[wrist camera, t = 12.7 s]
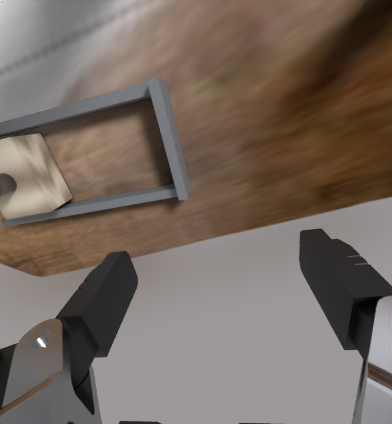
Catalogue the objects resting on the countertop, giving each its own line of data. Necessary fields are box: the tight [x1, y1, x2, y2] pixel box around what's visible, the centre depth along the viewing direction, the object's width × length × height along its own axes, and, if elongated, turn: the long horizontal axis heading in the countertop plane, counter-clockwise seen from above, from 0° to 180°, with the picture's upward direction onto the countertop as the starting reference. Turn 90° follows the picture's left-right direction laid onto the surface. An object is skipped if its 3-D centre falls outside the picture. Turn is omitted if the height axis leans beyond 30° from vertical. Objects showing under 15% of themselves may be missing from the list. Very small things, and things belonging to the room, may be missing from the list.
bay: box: [0, 77, 191, 227], centre depth 35 cm, size 17×38×5 cm, turn 102°
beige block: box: [0, 133, 72, 220], centre depth 33 cm, size 12×9×12 cm
